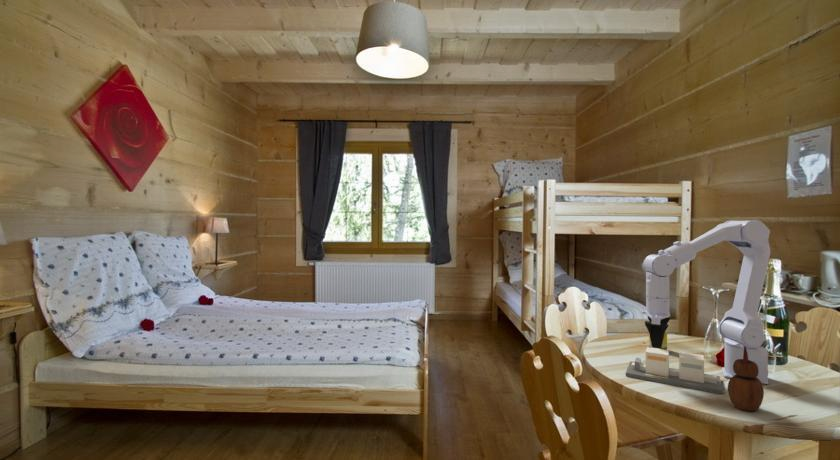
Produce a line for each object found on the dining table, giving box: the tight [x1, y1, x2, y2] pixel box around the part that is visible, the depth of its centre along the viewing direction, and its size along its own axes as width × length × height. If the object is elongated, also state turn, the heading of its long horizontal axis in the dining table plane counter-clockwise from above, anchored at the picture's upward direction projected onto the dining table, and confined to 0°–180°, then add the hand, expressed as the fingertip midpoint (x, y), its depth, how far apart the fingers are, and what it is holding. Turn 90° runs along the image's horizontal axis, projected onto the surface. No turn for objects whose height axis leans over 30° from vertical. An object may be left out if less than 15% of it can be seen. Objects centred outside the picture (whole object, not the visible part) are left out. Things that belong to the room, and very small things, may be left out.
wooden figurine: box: [727, 346, 765, 412], centre depth 93 cm, size 7×6×15 cm
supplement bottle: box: [648, 328, 668, 350], centre depth 137 cm, size 5×5×10 cm
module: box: [645, 346, 670, 377], centre depth 114 cm, size 6×5×6 cm
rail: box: [625, 351, 723, 395], centre depth 112 cm, size 22×11×7 cm, turn 56°
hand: (657, 344), depth 114 cm, fingers open, 7 cm apart
